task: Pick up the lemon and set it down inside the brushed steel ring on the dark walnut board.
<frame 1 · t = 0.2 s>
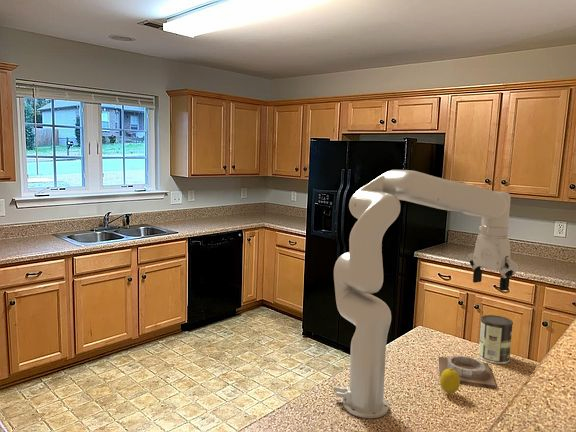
hand: (490, 285, 138), 31 cm above the countertop, tool pointing down, fingers open, 9 cm apart
walnut board: (465, 372, 146), on the countertop
steel ring: (465, 366, 146), on the walnut board, point 2 cm above the countertop
lemon: (448, 394, 132), on the countertop
coffee can: (493, 358, 158), on the countertop
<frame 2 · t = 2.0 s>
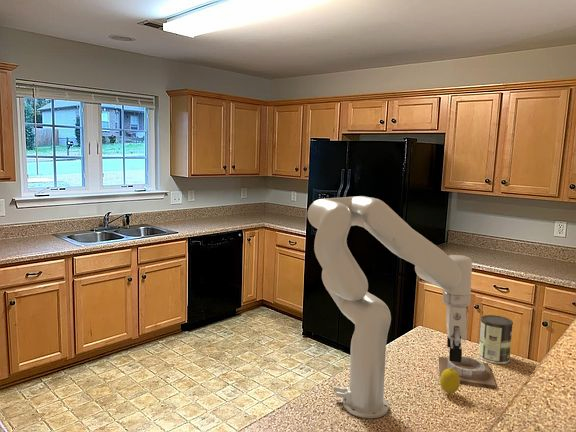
hand: (453, 354, 131), 12 cm above the countertop, tool pointing down, fingers open, 9 cm apart
nothing on the countertop moved.
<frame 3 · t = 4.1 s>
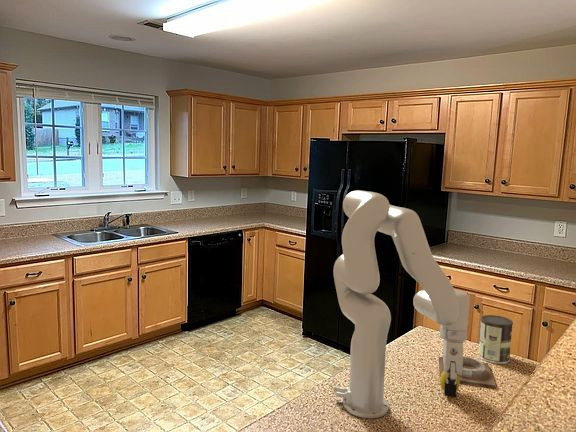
hand: (449, 390, 132), 1 cm above the countertop, tool pointing down, fingers closed on lemon, 5 cm apart
lemon: (449, 394, 132), on the countertop, touching gripper
everything else where it was.
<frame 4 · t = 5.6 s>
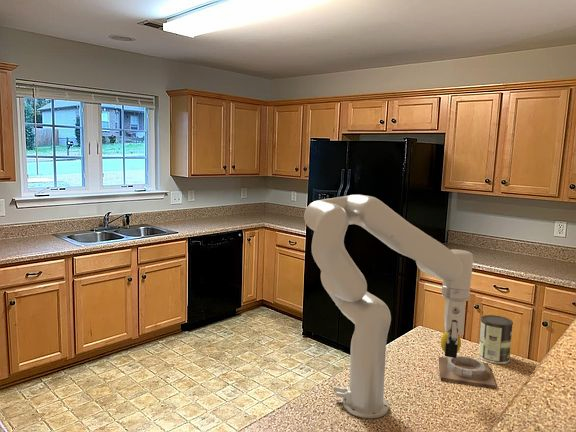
hand: (449, 351, 130), 13 cm above the countertop, tool pointing down, fingers closed on lemon, 5 cm apart
lemon: (449, 356, 131), point 12 cm above the countertop, touching gripper
everything else where it was.
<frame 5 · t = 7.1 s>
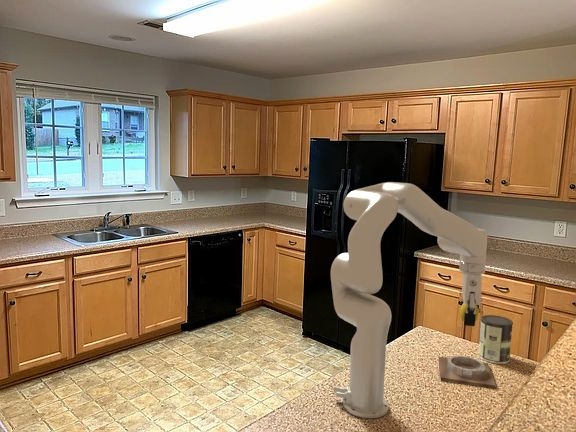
hand: (468, 321, 143), 18 cm above the countertop, tool pointing down, fingers closed on lemon, 5 cm apart
lemon: (468, 325, 143), point 17 cm above the countertop, touching gripper
everything else where it was.
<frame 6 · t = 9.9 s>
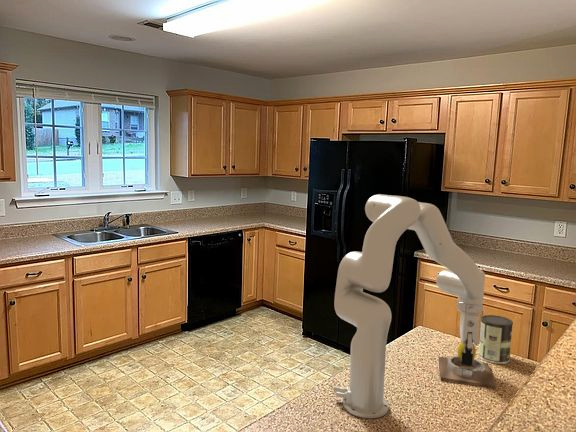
hand: (465, 359, 145), 5 cm above the countertop, tool pointing down, fingers closed on lemon, 5 cm apart
lemon: (465, 363, 145), point 3 cm above the countertop, touching gripper
everything else where it was.
when the fingers open (5 cm above the countertop, at t = 10.5 s): lemon drops 2 cm, resting on walnut board.
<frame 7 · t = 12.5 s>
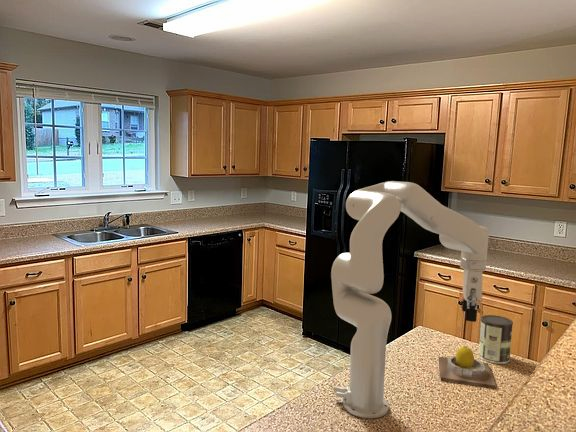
hand: (468, 316, 143), 19 cm above the countertop, tool pointing down, fingers open, 9 cm apart
lemon: (464, 370, 146), point 1 cm above the countertop, touching walnut board
everything else where it was.
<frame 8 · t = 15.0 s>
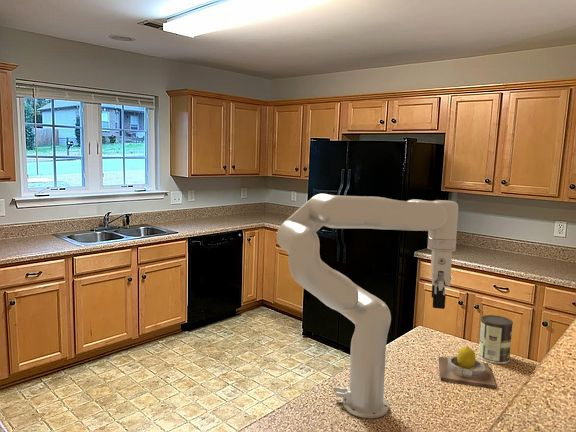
hand: (437, 302, 127), 28 cm above the countertop, tool pointing down, fingers open, 9 cm apart
nothing on the countertop moved.
at the end: lemon 0.1 cm off-centre on the steel ring, point 0.8 cm above the steel ring's base; the gripper is holding nothing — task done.
